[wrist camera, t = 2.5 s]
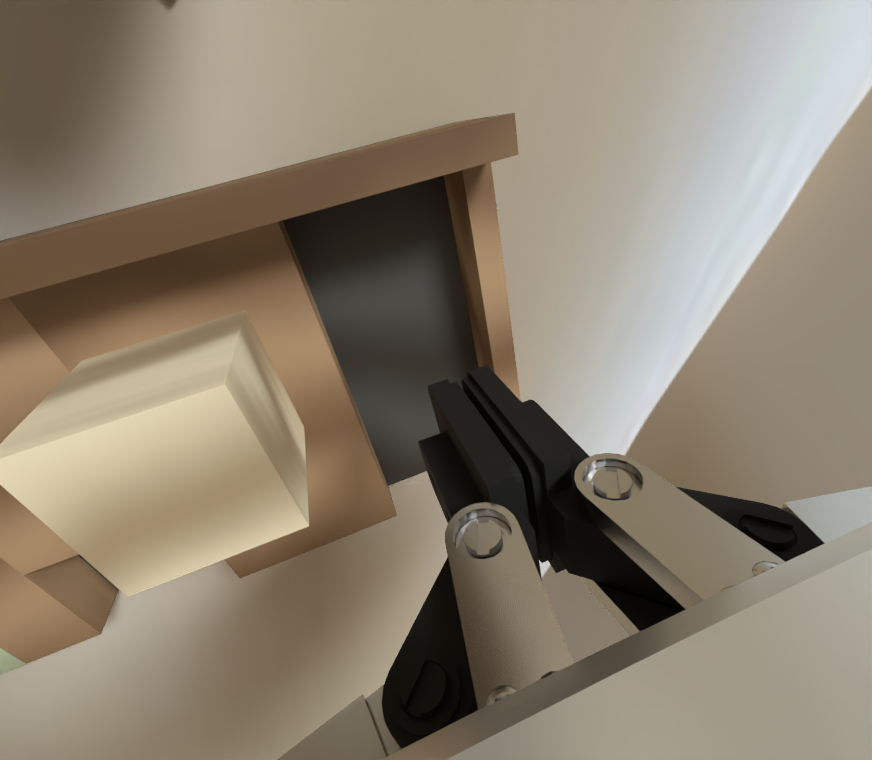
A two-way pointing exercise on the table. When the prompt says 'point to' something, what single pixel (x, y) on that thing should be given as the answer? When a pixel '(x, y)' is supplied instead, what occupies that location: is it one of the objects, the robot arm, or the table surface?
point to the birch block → (164, 455)
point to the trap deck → (268, 330)
